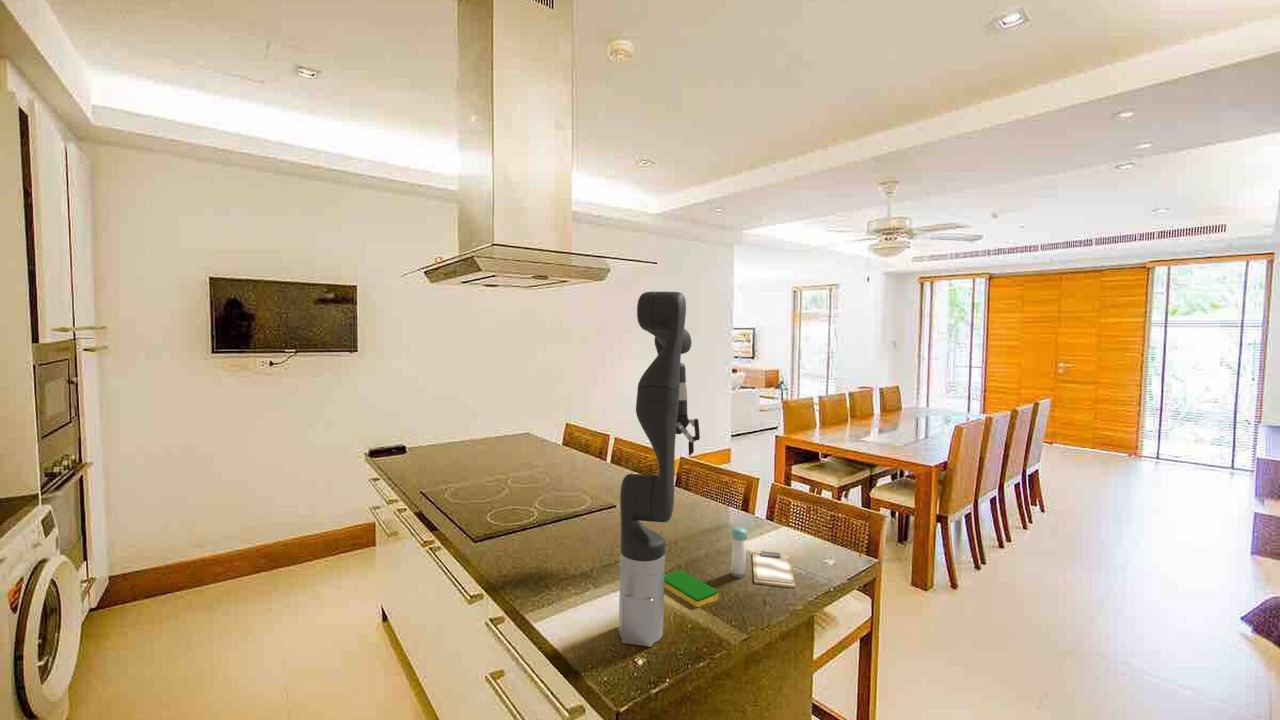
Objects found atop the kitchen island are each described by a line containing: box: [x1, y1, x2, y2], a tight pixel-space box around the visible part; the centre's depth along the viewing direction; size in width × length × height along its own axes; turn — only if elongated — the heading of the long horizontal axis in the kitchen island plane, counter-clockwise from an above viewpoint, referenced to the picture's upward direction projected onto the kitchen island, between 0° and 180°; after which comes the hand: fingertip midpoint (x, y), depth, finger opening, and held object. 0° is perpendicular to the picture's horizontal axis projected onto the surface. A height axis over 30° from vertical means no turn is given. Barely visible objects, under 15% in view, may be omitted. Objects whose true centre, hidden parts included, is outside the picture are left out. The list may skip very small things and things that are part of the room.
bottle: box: [730, 526, 748, 579], centre depth 137 cm, size 4×4×12 cm
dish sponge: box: [664, 569, 719, 608], centre depth 127 cm, size 7×14×2 cm, turn 38°
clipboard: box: [752, 550, 796, 589], centre depth 140 cm, size 18×10×1 cm, turn 169°
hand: (675, 455), depth 151 cm, fingers open, 8 cm apart
